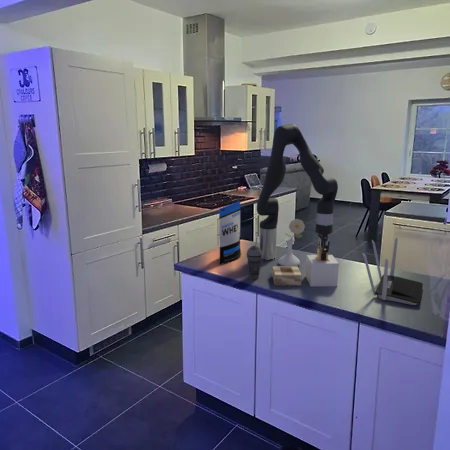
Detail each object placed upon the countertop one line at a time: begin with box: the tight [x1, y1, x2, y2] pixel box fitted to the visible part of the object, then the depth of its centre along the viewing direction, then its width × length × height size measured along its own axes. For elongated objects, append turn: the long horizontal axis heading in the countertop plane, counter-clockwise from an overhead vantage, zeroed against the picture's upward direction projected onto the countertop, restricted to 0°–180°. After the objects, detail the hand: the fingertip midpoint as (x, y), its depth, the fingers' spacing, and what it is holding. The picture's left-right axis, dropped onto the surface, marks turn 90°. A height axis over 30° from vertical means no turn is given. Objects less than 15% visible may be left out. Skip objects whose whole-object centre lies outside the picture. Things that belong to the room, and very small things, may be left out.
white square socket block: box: [305, 254, 340, 287], centre depth 182 cm, size 12×12×11 cm
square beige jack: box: [271, 265, 303, 287], centre depth 184 cm, size 12×12×5 cm
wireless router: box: [362, 237, 424, 306], centre depth 169 cm, size 34×23×20 cm
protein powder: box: [218, 200, 242, 265], centre depth 214 cm, size 10×24×30 cm, turn 152°
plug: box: [316, 245, 329, 261], centre depth 180 cm, size 4×4×10 cm
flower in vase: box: [277, 218, 306, 267], centre depth 202 cm, size 13×11×25 cm
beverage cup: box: [246, 237, 262, 280], centre depth 187 cm, size 7×7×20 cm
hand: (322, 258), depth 181 cm, fingers open, 4 cm apart
